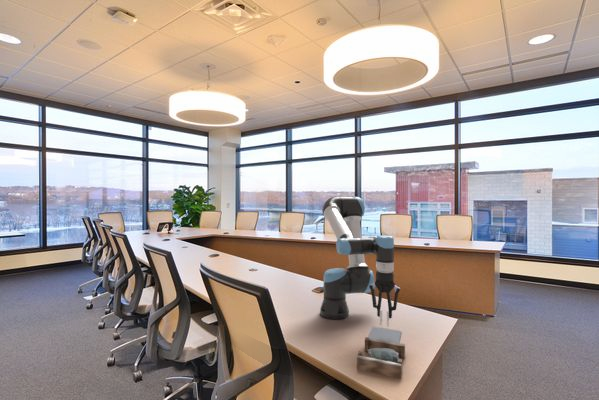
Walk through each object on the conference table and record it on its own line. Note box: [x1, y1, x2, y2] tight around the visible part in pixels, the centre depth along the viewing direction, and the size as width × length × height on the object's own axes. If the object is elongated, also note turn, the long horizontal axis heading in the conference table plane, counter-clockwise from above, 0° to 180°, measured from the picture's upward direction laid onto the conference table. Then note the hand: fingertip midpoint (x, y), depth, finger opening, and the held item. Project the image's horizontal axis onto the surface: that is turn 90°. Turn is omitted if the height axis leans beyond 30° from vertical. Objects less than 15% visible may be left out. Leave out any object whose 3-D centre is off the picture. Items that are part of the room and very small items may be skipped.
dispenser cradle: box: [356, 336, 406, 379], centre depth 116 cm, size 15×18×5 cm
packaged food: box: [367, 348, 404, 366], centre depth 114 cm, size 9×12×5 cm
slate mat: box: [367, 326, 402, 344], centre depth 137 cm, size 13×16×1 cm
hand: (384, 324), depth 137 cm, fingers open, 2 cm apart
